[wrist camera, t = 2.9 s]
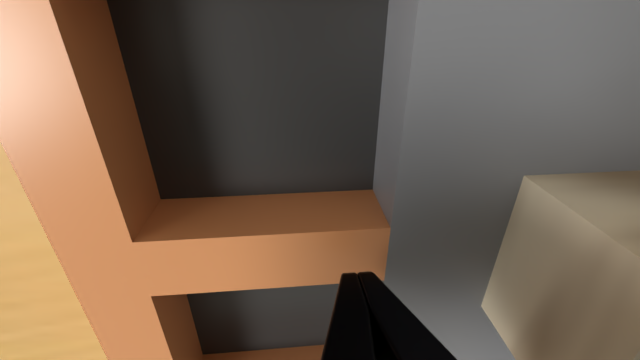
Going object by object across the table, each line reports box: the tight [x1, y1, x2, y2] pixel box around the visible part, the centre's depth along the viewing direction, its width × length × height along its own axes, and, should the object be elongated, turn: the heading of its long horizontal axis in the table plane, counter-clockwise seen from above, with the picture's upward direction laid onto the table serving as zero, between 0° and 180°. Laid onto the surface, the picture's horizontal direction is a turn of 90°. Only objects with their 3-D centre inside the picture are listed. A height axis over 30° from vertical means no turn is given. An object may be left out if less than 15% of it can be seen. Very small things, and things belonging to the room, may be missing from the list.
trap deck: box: [0, 0, 640, 360], centre depth 10 cm, size 28×16×6 cm, turn 90°
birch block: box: [481, 170, 640, 360], centre depth 8 cm, size 5×5×4 cm
